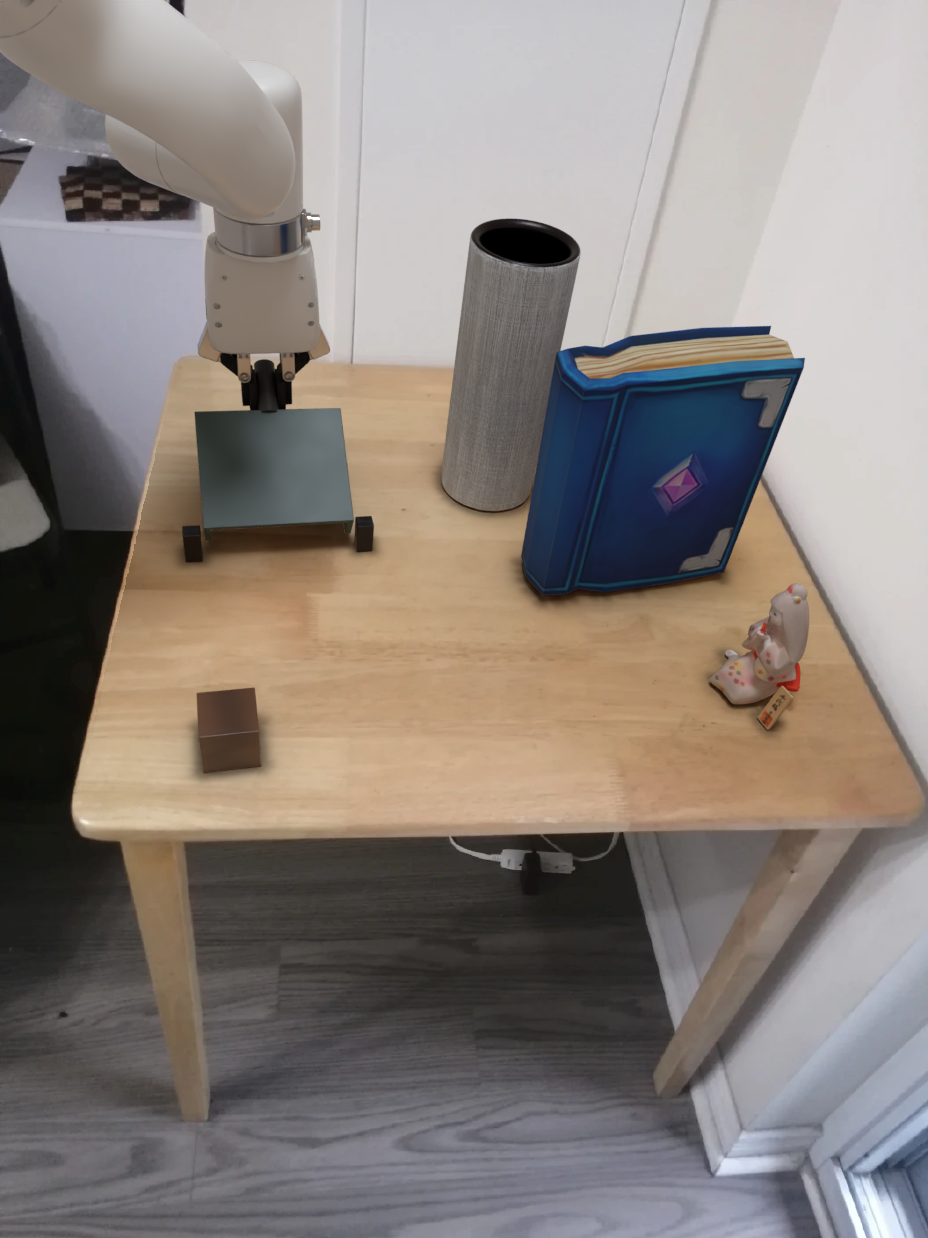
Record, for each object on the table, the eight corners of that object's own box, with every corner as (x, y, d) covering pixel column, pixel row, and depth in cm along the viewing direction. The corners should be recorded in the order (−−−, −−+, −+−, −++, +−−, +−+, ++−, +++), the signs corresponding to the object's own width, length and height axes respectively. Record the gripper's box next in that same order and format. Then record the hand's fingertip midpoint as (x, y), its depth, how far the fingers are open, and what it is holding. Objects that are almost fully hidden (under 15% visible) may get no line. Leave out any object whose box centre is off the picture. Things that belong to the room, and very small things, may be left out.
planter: (515, 454, 107) (560, 217, 88) (542, 509, 101) (597, 265, 82) (430, 459, 105) (458, 216, 86) (453, 516, 98) (488, 266, 79)
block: (203, 773, 72) (198, 737, 69) (200, 728, 75) (196, 692, 72) (261, 766, 73) (259, 731, 70) (256, 722, 76) (254, 687, 73)
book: (530, 609, 89) (584, 377, 72) (505, 560, 94) (550, 331, 76) (725, 579, 96) (818, 360, 78) (692, 535, 100) (773, 318, 83)
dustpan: (192, 379, 94) (190, 359, 91) (332, 377, 97) (335, 358, 94) (204, 541, 90) (202, 526, 86) (350, 533, 93) (354, 518, 90)
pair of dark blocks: (185, 551, 89) (181, 525, 87) (370, 540, 94) (371, 515, 91) (185, 562, 88) (182, 536, 86) (372, 550, 93) (374, 525, 90)
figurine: (692, 659, 87) (748, 557, 80) (750, 657, 90) (810, 558, 82) (741, 732, 81) (807, 628, 73) (802, 727, 83) (872, 627, 76)
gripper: (345, 210, 85) (341, 386, 98) (162, 207, 82) (183, 391, 95) (357, 247, 80) (352, 428, 93) (164, 246, 77) (186, 435, 90)
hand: (267, 408), depth 94 cm, fingers closed on dustpan, 2 cm apart
